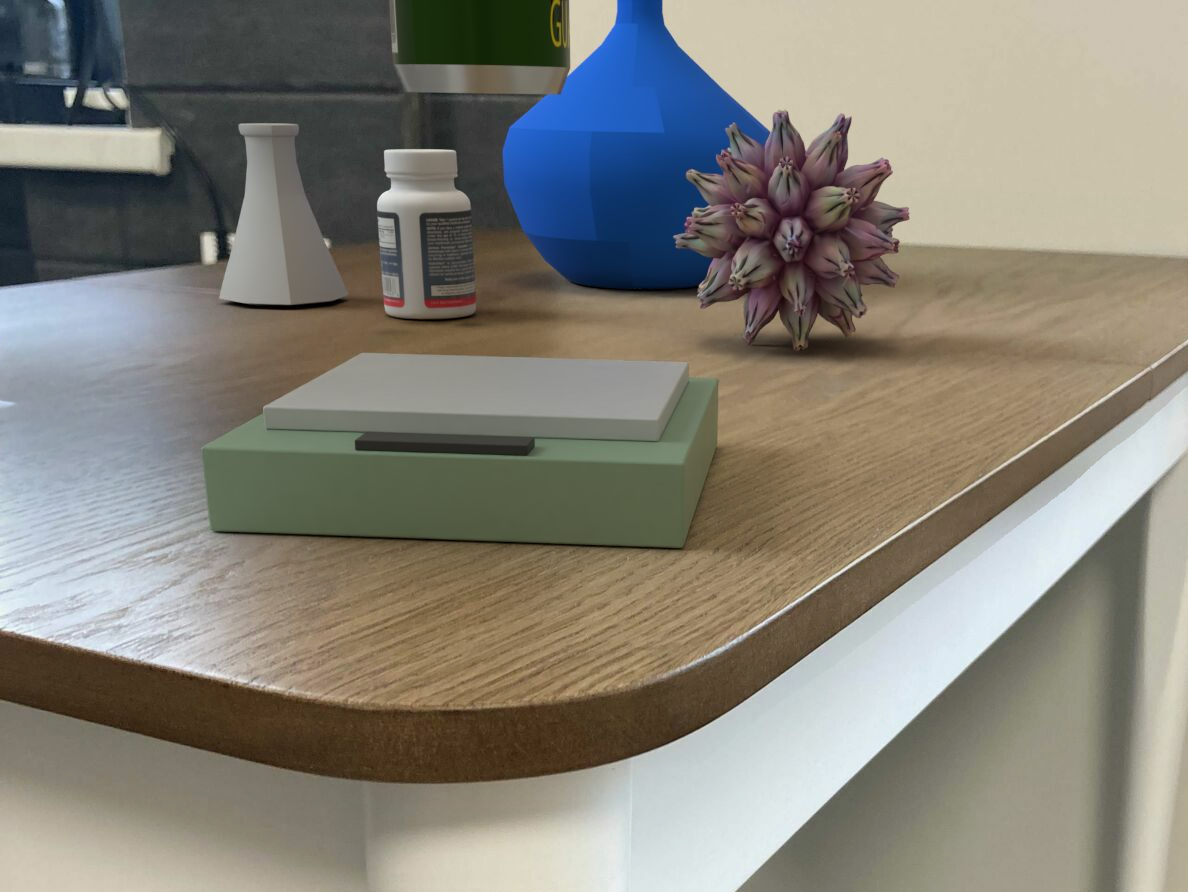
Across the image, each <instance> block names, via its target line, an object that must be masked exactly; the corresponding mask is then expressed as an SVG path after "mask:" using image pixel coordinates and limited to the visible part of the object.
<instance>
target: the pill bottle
mask: <svg viewBox="0 0 1188 892" xmlns="http://www.w3.org/2000/svg"><path fill="white" fill-rule="evenodd" d="M383 159H384V160H383V162H384V173H386V178H388V179H390V189H389V190H386V191H384V192H382V194H380V196H379V197H378V199H377V202H376V210H377V211H376V216H377V228H378V239H379V240H378V243H379V256H380V269H381V282H382V283H381V284H382V294H383V306H384V312H385V314H387V316H390V317H393V318H397V319H398V318H399V319H406V320H408V319H409V320H448V319H458V318H463V317H464V318H465V317H469V316H472V315H473V314H474V313H475V312H476V310H477V292H476V275H475V274H476V273H475V258H474V257H475V255H474V254H475V253H474V238H473V236H474V235H473V219H472V215H473V214H472V206H471V205H472V204H471V201H470V198H469V197H468V196H467V194H466V193H464V192H463V191H462V190H458V189H457V188H456V186H455V178H458V176H459V175H458V160H457V151H456V150H454V149H436V148H435V149H433V148H432V149H430V148H425V149H424V148H401V149H400V148H399V149H397V148H396V149H394V148H393V149H385V150H383Z"/></svg>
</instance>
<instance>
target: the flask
mask: <svg viewBox="0 0 1188 892" xmlns="http://www.w3.org/2000/svg"><path fill="white" fill-rule="evenodd" d="M238 131H239V134H240V135H241V136H243V137H244V141H245V142H244V143H245V151H246V161H247V162H246V175H245V186H244V187H245V188H244V197H243V201H242V205H241V210H240V214H239V218H238V223H237V226H236V229H235V236H234V239H233V243H232V247H231V250H230V254H229V258H228V261H227V265H226V268H225V273H224V275H223V279H222V284H221V288H220V292H219V295H218V299H219V300H223V301H224V300H226V301H231V302H235V303H241V304H246V305H252V306H298V305H299V306H300V305H316V304H324V303H329V302H333V301H336V300H339V299H341V298H344V297H347V296H349V293H348V289H347V288H346V285H345V283H344V281H343V278H342V276H341V274H340V272H339V270H338V267H337V265H336V263H335V261H334V258H333V255H332V254H331V252H330V250H329V247H328V245H327V243H326V241H325V239H324V236H323V234H322V232H321V229H320V227H319V225H318V222H317V219H316V217H315V215H314V212H313V210H312V208H311V205H310V202H309V200H308V198H307V196H306V193H305V189H304V185H303V182H302V181H303V180H302V178H301V174H300V170H299V167H298V163H297V153H296V143H295V141H296V136H298V135H299V131H300V127H299V124H297V123H274V122H273V123H268V122H263V123H261V122H260V123H259V122H254V123H253V122H251V123H248V122H247V123H238Z"/></svg>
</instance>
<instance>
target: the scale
mask: <svg viewBox="0 0 1188 892" xmlns="http://www.w3.org/2000/svg"><path fill="white" fill-rule="evenodd" d="M718 423H719V378H717V377H695V376H692V377H691V376H690V362H689V361H668V360H667V361H663V360H630V359H629V360H627V359H596V358H595V359H591V358H557V357H526V356H525V357H521V356H490V355H489V356H488V355H487V356H486V355H452V354H446V355H445V354H423V353H422V354H421V353H420V354H419V353H418V354H417V353H416V354H415V353H381V352H361V353H359V354H357V355H355V356H353V357H352V358H350V359H348V360H346V361H344V362H342V363H340V364H338V365H337V366H335V367H332V368H331V369H329V370H328V371H326V372H324V373H321V375H319V376H317V377H315V378H313V379H311V380H310V381H308V382H306V383H304V384H302V385H301V386H298V387H297V388H295V389H293V390H291V391H289V392H288V393H286V394H284V395H282V396H280V397H279V398H277V399H275V400H273V401H271V402H270V403H267V404H265V405H264V406H263V407H262V413H260V414H259V415H257V416H255V417H253V418H251V419H250V420H247V421H246V422H243V424H240V425H239V426H237V427H235V428H233V429H231V430H230V431H228V432H226V433H224V434H223V435H221V436H219V437H217V438H215V439H213V440H212V441H210V442H208V443H206V444H205V445H203V446H201V448H200V453H201V462H202V470H203V471H202V473H203V479H204V488H205V496H206V502H207V503H206V505H207V513H208V523H209V529H210V530H211V531H212V532H227V533H228V532H229V533H230V532H231V533H233V532H235V533H258V534H259V533H260V534H286V535H309V536H310V535H311V536H313V535H315V536H340V537H364V538H365V537H368V538H369V537H371V538H391V539H393V538H395V539H398V538H399V539H421V540H446V541H447V540H451V541H474V542H475V541H477V542H478V541H479V542H502V543H503V542H504V543H505V542H507V543H529V544H530V543H532V544H556V545H557V544H559V545H560V544H561V545H587V546H609V547H610V546H612V547H614V546H615V547H639V548H667V549H682V548H684V546H685V543H686V539H687V537H688V534H689V530H690V528H691V525H692V521H693V519H694V516H695V512H696V509H697V507H698V503H699V500H700V497H701V495H702V492H703V489H704V486H705V483H706V479H707V476H708V473H709V470H710V468H711V464H712V461H713V459H714V455H715V453H716V449H717V446H718V431H719V429H718V428H719V426H718V425H719V424H718Z"/></svg>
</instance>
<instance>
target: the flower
mask: <svg viewBox="0 0 1188 892" xmlns="http://www.w3.org/2000/svg"><path fill="white" fill-rule="evenodd" d="M852 118H853V117H852V116H847V117H846V115H845V114H844V113H839V114H838V115H837V116H836V118H835V120H834V122H833V123H832V125H831V126H829V128H827V129H826V130H824V131H823V132H822V133H820V134H819V135H817V136H816V137H815V138H814V139H813V140H812V141H811V142H810V144H809V145H808V148H806V145H805V142H804V140H803V138H802V137H801V134H800V132H799V131H798V130H797V128H795V126H794V125H793V124H792V122H791V120H790V114H789V111H788V110H787V109H784V110H783V109H782V110H780V109H778V110H777V111H774V112H773V115H772V127H771V131H770V135H769V137H768V139H767V141H766V144H765V147H764V148H763V146H762V145H761V144H760V143H758V142H757V141H755V140H753V139H752V138H750V137H748V136H747V135H745V134H744V133H742V132H741V130H740V129H739V128H738V126H737V125H736V123H733V125H730V126H729V128H726V129H725V130H726V133H727V135H728V137H729V139H730V146H731V149H730V148H728V149H727V150H722V152H721V155H718V154H716V160H717V162H718V164H719V166H720V167H721V168H722V170H723V172H724V175H719V174H706V173H700V172H698V171H696V170H693V169H690V170H688V171H687V172H686V178H687V180H689V181H690V182H691V183H693V184H694V185H696V187H697V188H698V190H699V191H700V193H701V195H702V196H703V198H704V199H705V200H706V201H707V203H708V204H709V206H707V207H706V208H695V209H694V211H693V212H692V217H687V221H686V223H685V224H684V225H685V227H686V231H685V232H686V233H684V234H678V235H675V236H674V239H675V240H676V244H677V246H676V248H686V249H691V250H694V251H696V252H698V253H700V254H701V255H703V256H705V257H708V258H714V259H713V261H712V263H711V265H710V267H709V270H708V274H707V277H706V279H705V280H704V281H703V282H702V283H701V284H700V285H699V286H698V288H697V291H696V292H697V293H698V294H697V296H696V298H698V302H700V303H701V304H700V307H699V309H701V310H702V309H703V310H704V309H707V308H708V307H711V306H713V305H714V304H717V303H725V302H726V303H727V302H732V301H736V300H739V299H740V298H742V297H743V296H745V297H744V302H743V318H744V327H745V328H744V332H743V335H742V339H743V340H745V341H746V343H747V344H748V345H751V344H752V343H754V341H756V340H755V339H756V338H757V336H758V334H759V332H760V331H761V330H762V329H764V328H765V326H767V325H768V324H770V323H771V322H772V321H773V320H774V319H775V317H776V316H777V314H779V319H780V321H781V323H782V326H784V327H785V329H786V331H787V332H788V333H789V335H790V336H791V340H792V347H793V348H792V349H793V351H795V352H799V351H801V349H802V350H805V349H806V348H808V347H809V335H810V333H811V331H812V328H813V327H814V324H815V323H816V321H817V318H818V315H819V316H820V317H821V318H822V319H823V320H825V321H826V322H827V323H830V324H832V325H834V326H835V327H836V328H838V329H839V330H840V331H841V333H842V334H843V336H844V337H846V338H847V337H850V336H851V334H852V333H856V331H857V329H856V326H855V324H854V321H853V317H854V318H856V319H861V318H862V317H863V316H865V315H866V314H867V311H868V307H867V305H866V304H865V302H864V301H863V298H862V297H863V294H862V288H861V287H862V286H870V285H884V286H886V287H889V288H891V289H895V287H896V285H897V284H898V282H897V281H898V280H900V275H899V274H898V273H896V272H894V271H892V270H891V269H890V267H889V266H888V265H887V264H886V262H885V261H884V260H883V258H882V256H884V255H887V254H889V255H890V254H893V255H894V254H898V253H899V252H900V251H899V248H900V243H901V241H900V239H898V238H896V237H893V236H894V235H893V232H894V228H893V227H894V226H896V225H897V224H898V223H902V222H907V221H909V220H910V212H909V209H910V208H909V207H908V206H903V207H896V206H893V205H890V204H888V203H885V202H882V201H880V200H875V199H876V197H877V196H878V194H879V191H880V190H881V187H882V185H883V184H884V182H885V181H886V180H887V179H888V178H889V177H890V176H891V175H893V173H894V171H893V169H892V165H891V164H890V161H889V159H887V158H884V157H880V158H879V159H877V160H875V161H873V162H871V163H868V164H854V165H851V166H849V167H847V168H846V165H847V163H848V159H849V141H848V134H849V131H850V127H851V126H852Z"/></svg>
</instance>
